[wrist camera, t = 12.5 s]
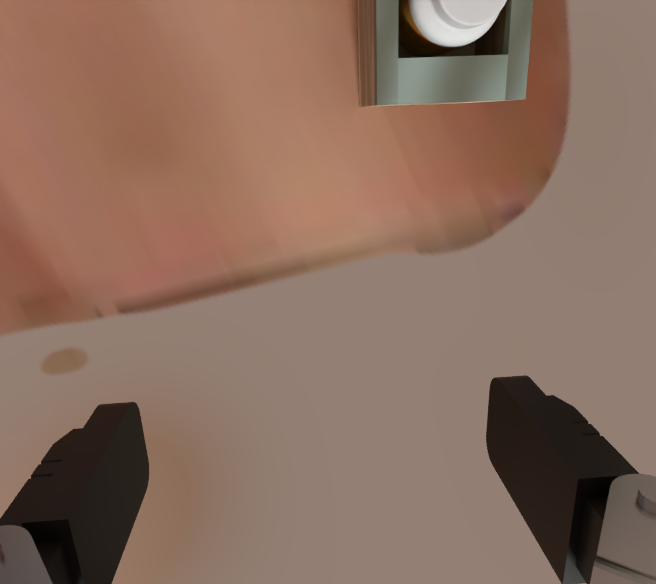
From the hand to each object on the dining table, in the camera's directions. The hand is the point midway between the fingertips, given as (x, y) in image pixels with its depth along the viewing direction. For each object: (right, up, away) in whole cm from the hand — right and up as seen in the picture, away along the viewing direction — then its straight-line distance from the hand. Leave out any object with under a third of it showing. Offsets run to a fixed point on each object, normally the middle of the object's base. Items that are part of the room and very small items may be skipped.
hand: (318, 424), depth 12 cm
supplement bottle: (+7, +22, +24) cm, 34 cm away
